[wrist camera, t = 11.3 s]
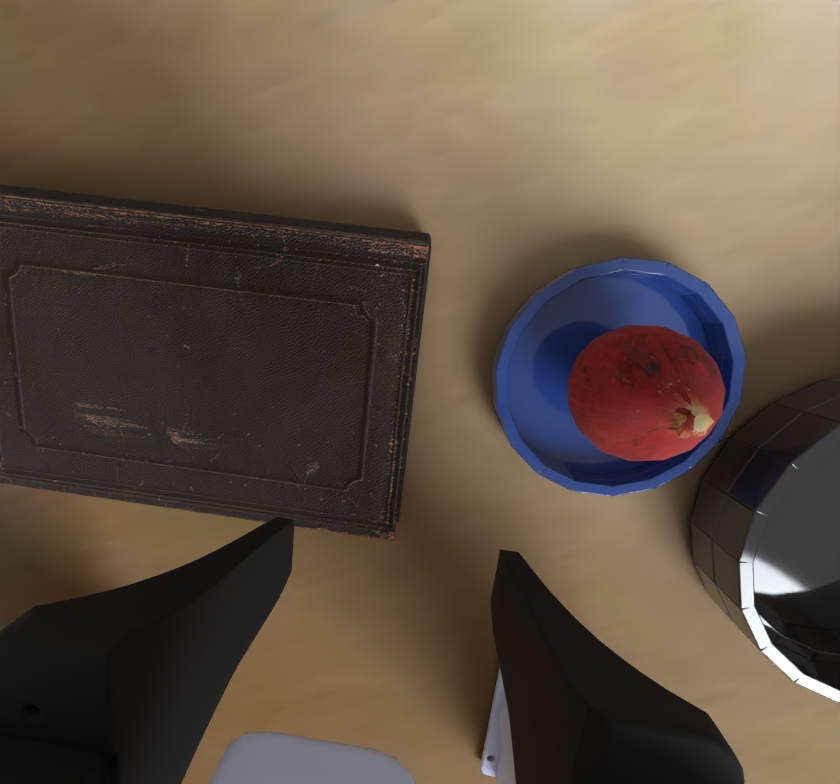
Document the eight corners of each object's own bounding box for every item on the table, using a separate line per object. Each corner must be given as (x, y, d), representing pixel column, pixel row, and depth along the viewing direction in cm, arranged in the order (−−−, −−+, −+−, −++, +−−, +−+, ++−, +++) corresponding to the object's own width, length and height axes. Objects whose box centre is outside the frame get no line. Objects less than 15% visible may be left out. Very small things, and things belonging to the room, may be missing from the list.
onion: (531, 351, 20) (584, 375, 13) (639, 303, 20) (767, 298, 12) (571, 447, 21) (644, 525, 14) (676, 405, 20) (817, 462, 13)
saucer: (687, 494, 22) (708, 510, 20) (475, 465, 22) (478, 478, 20) (749, 278, 19) (779, 274, 18) (509, 250, 20) (515, 244, 18)
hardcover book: (398, 519, 23) (393, 541, 21) (35, 466, 24) (-7, 482, 22) (432, 239, 20) (430, 230, 18) (9, 191, 21) (-44, 176, 19)
